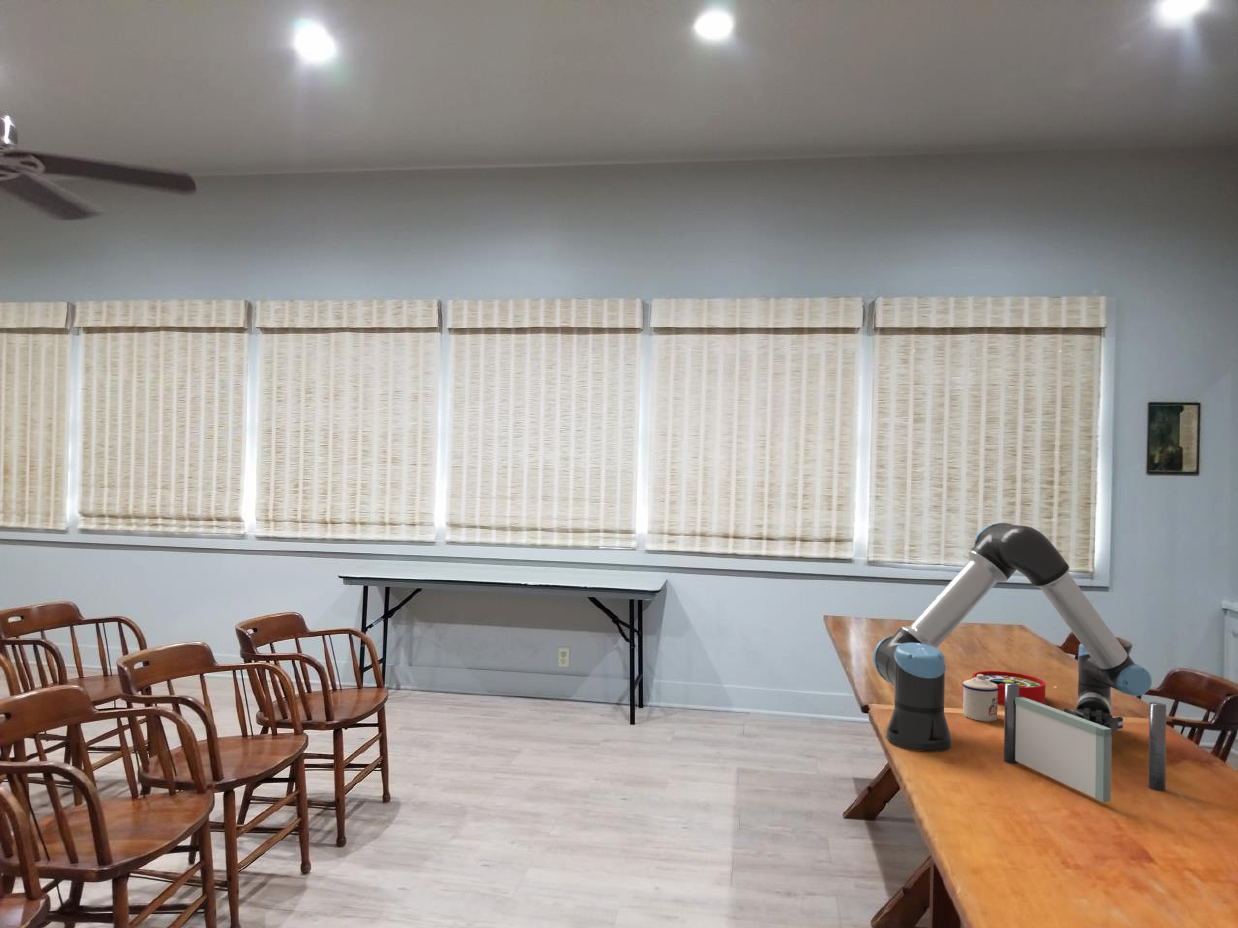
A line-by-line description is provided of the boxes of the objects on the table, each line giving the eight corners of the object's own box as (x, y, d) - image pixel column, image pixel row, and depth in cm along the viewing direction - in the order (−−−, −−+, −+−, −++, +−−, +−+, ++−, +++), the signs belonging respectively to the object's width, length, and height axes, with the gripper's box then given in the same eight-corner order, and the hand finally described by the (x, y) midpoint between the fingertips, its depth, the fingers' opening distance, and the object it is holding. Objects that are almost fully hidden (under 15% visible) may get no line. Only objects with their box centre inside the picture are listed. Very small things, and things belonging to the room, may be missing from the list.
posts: (1003, 761, 186) (1004, 684, 186) (1004, 758, 189) (1005, 681, 189) (1165, 791, 170) (1166, 706, 170) (1165, 787, 172) (1165, 703, 172)
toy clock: (1040, 674, 249) (1050, 690, 230) (1040, 693, 249) (1049, 710, 230) (970, 668, 256) (974, 682, 237) (970, 686, 256) (974, 702, 237)
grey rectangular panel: (1014, 760, 184) (1015, 697, 184) (1021, 759, 185) (1022, 696, 185) (1102, 802, 161) (1103, 729, 161) (1110, 801, 161) (1111, 728, 162)
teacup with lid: (996, 723, 215) (996, 680, 216) (960, 718, 220) (960, 675, 220) (1000, 713, 226) (1001, 671, 226) (965, 707, 230) (966, 667, 231)
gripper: (1123, 730, 201) (1124, 757, 181) (1064, 721, 208) (1059, 746, 188) (1123, 700, 201) (1125, 724, 181) (1064, 692, 208) (1059, 714, 188)
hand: (1091, 735), depth 184 cm, fingers closed
